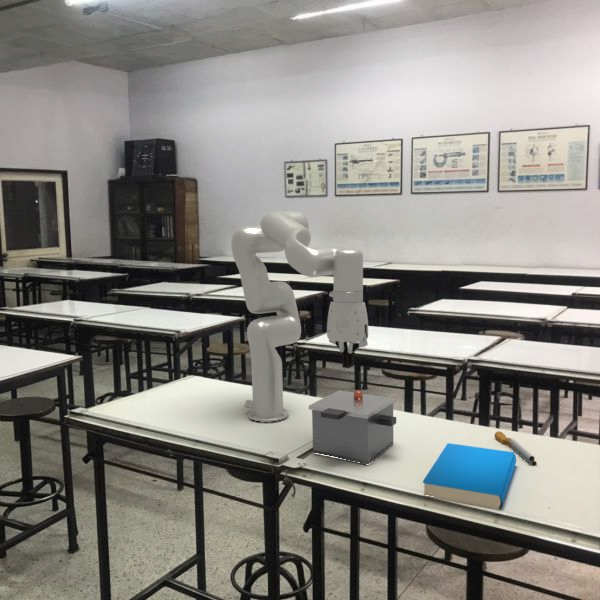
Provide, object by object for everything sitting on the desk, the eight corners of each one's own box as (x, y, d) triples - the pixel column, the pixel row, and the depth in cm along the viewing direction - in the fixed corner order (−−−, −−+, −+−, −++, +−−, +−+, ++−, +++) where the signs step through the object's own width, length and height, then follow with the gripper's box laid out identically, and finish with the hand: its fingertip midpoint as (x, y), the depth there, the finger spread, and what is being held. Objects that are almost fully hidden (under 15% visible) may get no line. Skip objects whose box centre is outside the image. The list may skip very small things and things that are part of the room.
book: (422, 481, 135) (446, 441, 157) (422, 499, 136) (446, 457, 158) (503, 494, 128) (516, 450, 150) (503, 513, 128) (516, 467, 151)
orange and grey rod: (492, 433, 169) (502, 428, 169) (496, 442, 169) (506, 437, 169) (522, 460, 150) (533, 454, 150) (526, 470, 151) (537, 465, 151)
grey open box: (313, 454, 161) (312, 410, 160) (341, 435, 175) (340, 394, 173) (381, 468, 151) (381, 421, 149) (405, 447, 164) (405, 403, 163)
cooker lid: (300, 413, 155) (300, 401, 155) (339, 393, 173) (338, 383, 173) (360, 423, 147) (360, 411, 146) (394, 401, 164) (394, 390, 164)
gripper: (315, 297, 157) (316, 366, 160) (368, 301, 150) (367, 374, 152) (329, 293, 164) (329, 360, 166) (380, 297, 156) (380, 367, 159)
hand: (348, 366), depth 159 cm, fingers closed
